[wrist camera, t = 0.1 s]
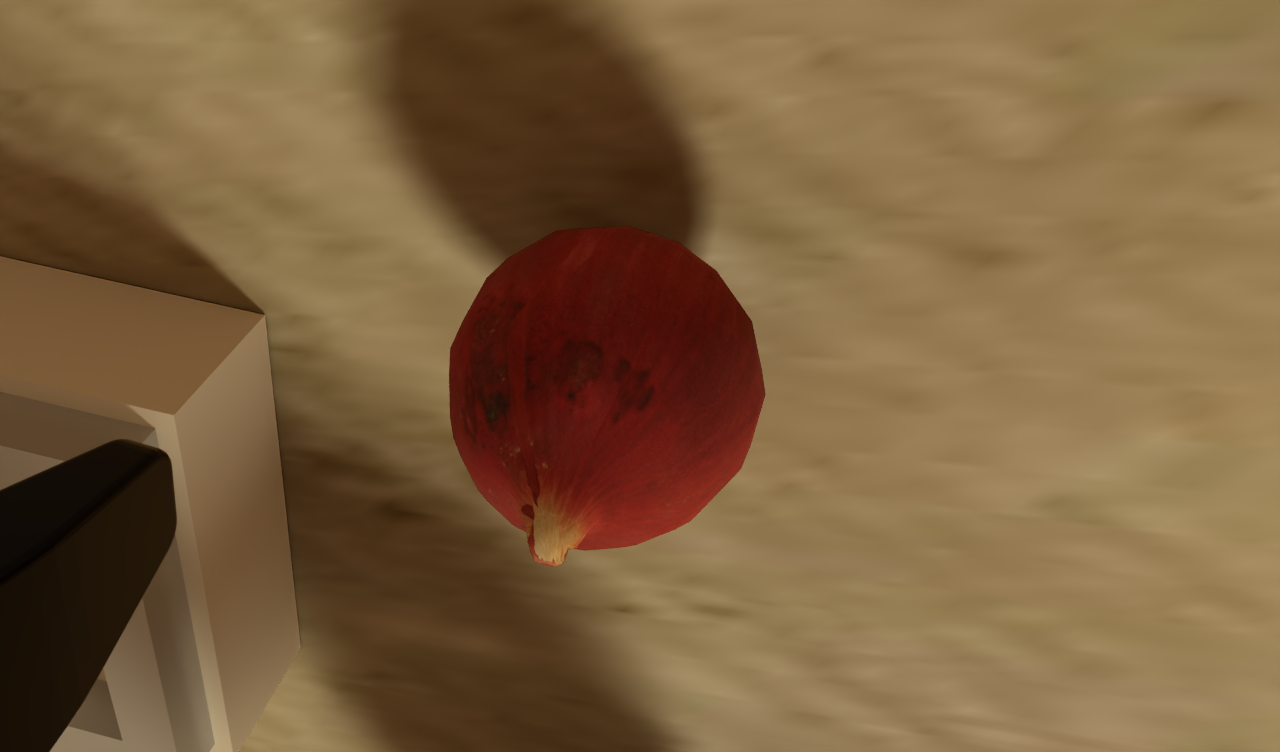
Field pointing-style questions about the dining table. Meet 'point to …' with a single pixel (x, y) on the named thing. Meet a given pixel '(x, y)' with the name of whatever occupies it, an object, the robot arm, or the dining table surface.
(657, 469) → the onion
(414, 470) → the dining table surface
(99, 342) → the display pedestal
